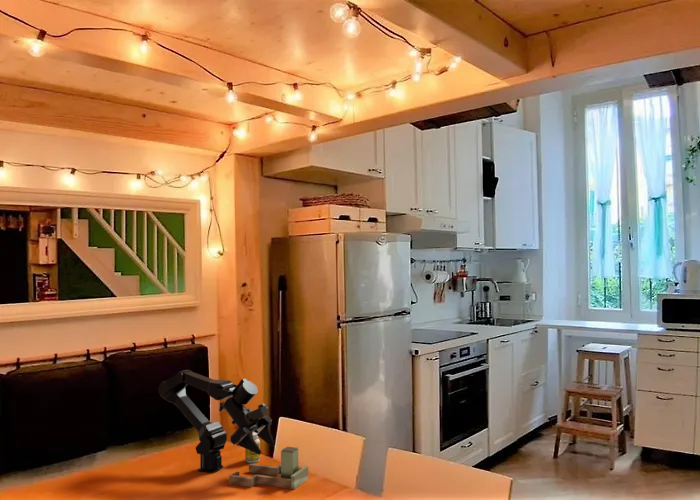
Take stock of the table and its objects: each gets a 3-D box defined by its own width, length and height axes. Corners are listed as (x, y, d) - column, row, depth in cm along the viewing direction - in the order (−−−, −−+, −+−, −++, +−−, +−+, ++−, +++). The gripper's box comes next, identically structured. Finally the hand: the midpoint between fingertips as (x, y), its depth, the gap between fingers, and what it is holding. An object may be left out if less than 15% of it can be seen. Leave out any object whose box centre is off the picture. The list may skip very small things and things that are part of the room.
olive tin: (281, 482, 187) (280, 450, 187) (287, 478, 191) (286, 446, 191) (292, 484, 186) (292, 451, 186) (298, 479, 189) (298, 447, 190)
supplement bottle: (256, 457, 214) (256, 430, 214) (262, 461, 209) (262, 434, 210) (242, 460, 211) (242, 433, 211) (248, 464, 206) (248, 436, 207)
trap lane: (229, 483, 188) (229, 471, 188) (254, 467, 202) (254, 456, 202) (290, 492, 179) (290, 479, 179) (312, 475, 194) (312, 463, 194)
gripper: (239, 402, 186) (269, 441, 181) (267, 392, 203) (295, 427, 199) (217, 425, 188) (246, 464, 184) (247, 412, 205) (274, 447, 201)
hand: (267, 449), depth 192 cm, fingers open, 9 cm apart
